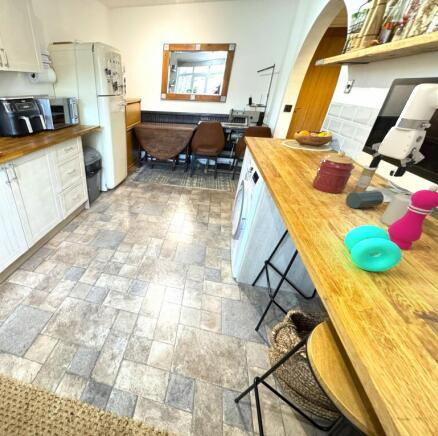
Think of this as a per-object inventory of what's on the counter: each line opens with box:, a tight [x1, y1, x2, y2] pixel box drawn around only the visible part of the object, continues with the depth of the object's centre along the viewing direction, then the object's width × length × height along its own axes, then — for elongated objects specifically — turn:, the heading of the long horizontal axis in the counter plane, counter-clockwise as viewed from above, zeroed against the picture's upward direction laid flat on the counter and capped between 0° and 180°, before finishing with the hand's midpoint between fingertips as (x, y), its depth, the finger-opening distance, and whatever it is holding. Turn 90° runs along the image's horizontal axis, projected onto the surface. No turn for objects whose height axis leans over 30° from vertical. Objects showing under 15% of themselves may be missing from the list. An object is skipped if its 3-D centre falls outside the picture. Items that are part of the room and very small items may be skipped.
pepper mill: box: [387, 185, 438, 251], centre depth 71 cm, size 7×7×20 cm
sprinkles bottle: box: [352, 162, 379, 192], centre depth 108 cm, size 5×5×13 cm
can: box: [380, 190, 415, 228], centre depth 84 cm, size 8×8×12 cm
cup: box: [345, 189, 385, 209], centre depth 97 cm, size 6×6×10 cm
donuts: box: [343, 224, 403, 273], centre depth 66 cm, size 10×10×10 cm
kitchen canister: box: [311, 151, 356, 194], centre depth 111 cm, size 13×13×18 cm
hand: (384, 171), depth 91 cm, fingers open, 9 cm apart
